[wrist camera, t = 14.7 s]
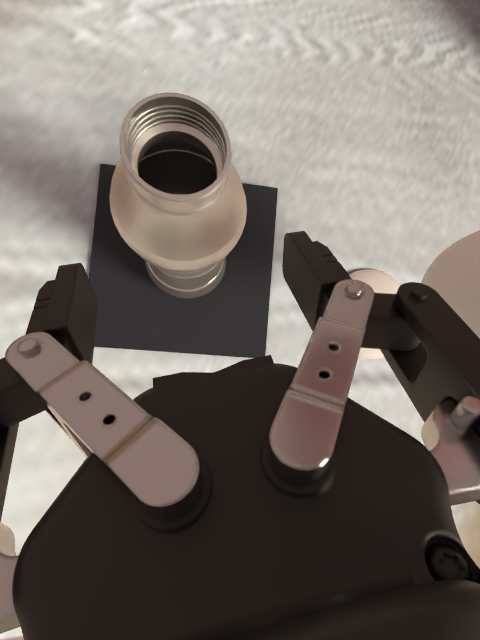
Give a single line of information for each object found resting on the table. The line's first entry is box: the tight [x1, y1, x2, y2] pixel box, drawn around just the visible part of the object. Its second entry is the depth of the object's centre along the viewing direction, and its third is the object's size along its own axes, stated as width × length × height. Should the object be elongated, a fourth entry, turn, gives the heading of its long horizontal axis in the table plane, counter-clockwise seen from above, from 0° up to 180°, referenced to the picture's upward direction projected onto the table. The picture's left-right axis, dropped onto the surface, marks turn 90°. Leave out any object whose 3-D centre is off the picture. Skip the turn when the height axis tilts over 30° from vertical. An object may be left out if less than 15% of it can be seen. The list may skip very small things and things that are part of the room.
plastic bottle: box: [110, 93, 247, 299], centre depth 21 cm, size 6×7×20 cm
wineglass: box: [349, 231, 480, 359], centre depth 23 cm, size 9×9×21 cm
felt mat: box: [89, 164, 278, 358], centre depth 31 cm, size 16×16×1 cm
